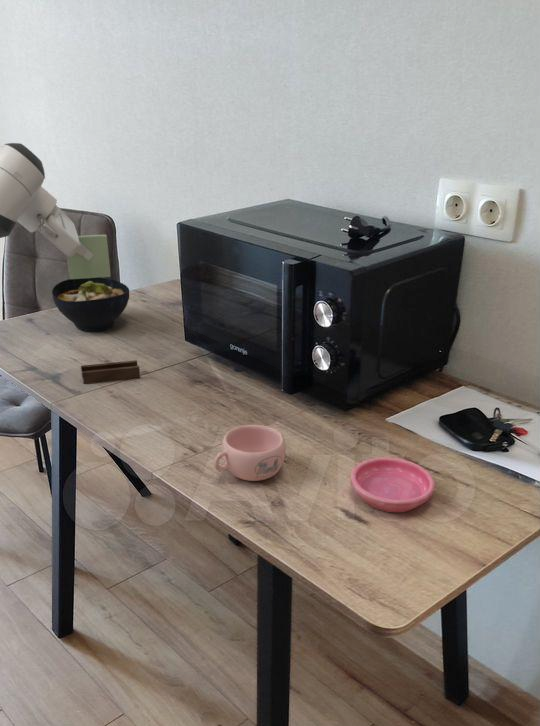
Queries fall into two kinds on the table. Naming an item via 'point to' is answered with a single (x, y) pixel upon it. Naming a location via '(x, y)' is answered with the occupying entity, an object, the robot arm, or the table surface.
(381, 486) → the saucer
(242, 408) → the table surface
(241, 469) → the mug
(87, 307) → the bowl
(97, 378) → the rack
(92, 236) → the green square tile
